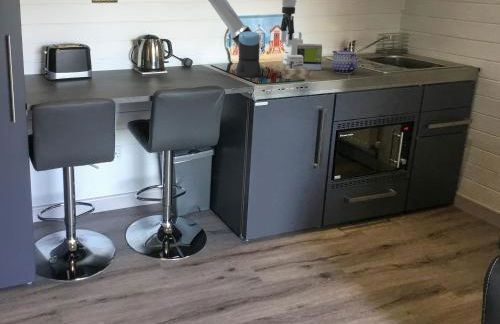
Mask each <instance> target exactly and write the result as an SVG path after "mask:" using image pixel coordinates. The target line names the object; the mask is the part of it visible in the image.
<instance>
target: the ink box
mask: <svg viewBox="0 0 500 324" xmlns="http://www.w3.org/2000/svg"><path fill="white" fill-rule="evenodd" d="M285 69H303V56H302V55H287V63H286V64H285Z"/></svg>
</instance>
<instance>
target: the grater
mask: <svg viewBox="0 0 500 324" xmlns="http://www.w3.org/2000/svg"><path fill="white" fill-rule="evenodd" d="M295 33H296V34H297V33H298V38H297V37H296V38H292V46H287V41H286V43H285V48H284V53H283V59H282V64H285V65H286V63H287V55H297V46H298V44H304V39H302V35H303V33H302V32H299V31H294V33H293V34H295ZM287 39H288V37H286V40H287Z"/></svg>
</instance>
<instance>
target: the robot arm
mask: <svg viewBox="0 0 500 324" xmlns="http://www.w3.org/2000/svg"><path fill="white" fill-rule="evenodd" d="M207 1H208V2H209V3H210V4H211V6H212V8H213V9H214V11H215V12H216V14H217V15H218V16H219V17H220V19H221V20H222V22H223V23H224V25H225V26H226V27H227V28H228V30H229V31H230V33H231V39H232V40H233V42H234V43H235V45H236V46H237V48H238V62H237V64H236V68H235V71H234V73H235V74H234V75H235V76H238V77H244V78H257V77H261V76H262V75H263V70H262V67H261V63H260V46H261V45H260V44H261V43H260V42H261V36H260V34H259V33H258V32H255V31H252V29H251V28H250V27H249V25H245V24H244V23H243V21H242V20H241V18H240V17H239V16H238V14H237V12H236V11H235V10H234V8H233V7H232V6H231V3H229V1H228V0H207ZM296 3H297V0H282V3H281V4H282V7H281V13H282V20H281V24H280V29H279V30H281V33H280V43H285V44H286V42H287V46H292V38H293V35H294V34H295V33H294V32H295V23H294V21H295V20H294V15H295V14H296V7H295V6H296ZM287 38H288V39H287Z"/></svg>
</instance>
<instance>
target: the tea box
mask: <svg viewBox="0 0 500 324" xmlns="http://www.w3.org/2000/svg"><path fill="white" fill-rule="evenodd" d="M322 53H323V44H322V43H303V44H298V46H297V55H302V56H303V69H310V71H311V70H312V71H321V70H322V59H323V58H322V56H323V54H322Z"/></svg>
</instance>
